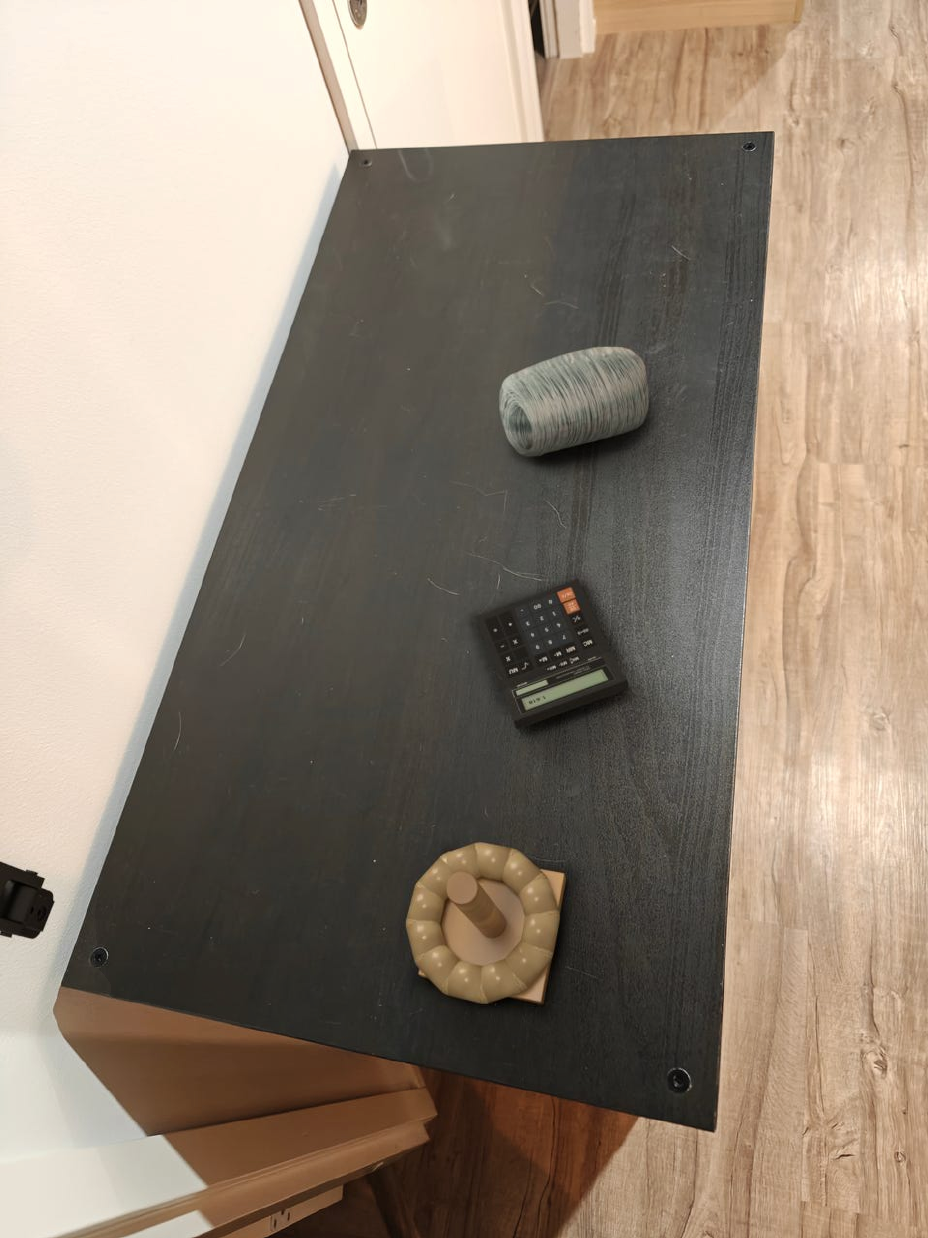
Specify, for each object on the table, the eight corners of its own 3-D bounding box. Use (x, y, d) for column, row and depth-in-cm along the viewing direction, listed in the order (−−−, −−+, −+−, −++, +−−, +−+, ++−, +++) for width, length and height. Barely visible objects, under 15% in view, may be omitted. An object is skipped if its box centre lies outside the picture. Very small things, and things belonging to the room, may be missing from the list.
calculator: (578, 583, 82) (576, 565, 79) (630, 699, 76) (629, 684, 73) (476, 621, 82) (470, 604, 79) (520, 739, 76) (515, 726, 73)
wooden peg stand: (422, 977, 69) (373, 947, 57) (450, 855, 73) (410, 804, 61) (543, 1005, 66) (518, 980, 55) (566, 878, 70) (547, 829, 59)
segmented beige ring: (395, 983, 68) (386, 979, 65) (432, 836, 72) (425, 828, 70) (543, 1020, 65) (539, 1016, 63) (572, 864, 69) (569, 856, 67)
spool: (502, 475, 84) (508, 365, 79) (491, 434, 92) (496, 331, 87) (652, 474, 85) (669, 366, 80) (628, 433, 93) (642, 332, 88)
